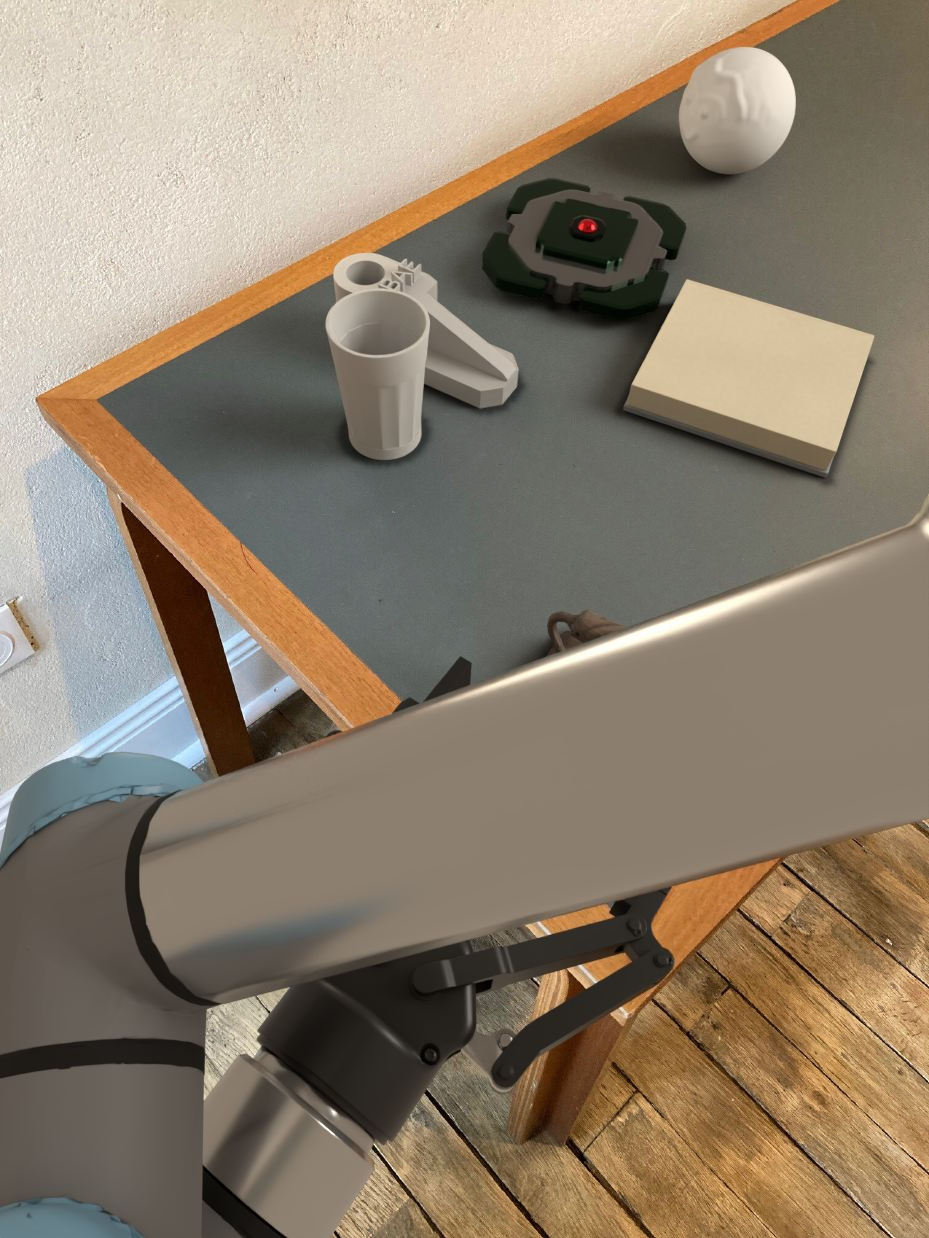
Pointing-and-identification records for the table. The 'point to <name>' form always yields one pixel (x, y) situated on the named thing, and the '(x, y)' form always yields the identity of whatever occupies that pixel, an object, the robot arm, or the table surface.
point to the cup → (380, 368)
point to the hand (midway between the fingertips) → (570, 735)
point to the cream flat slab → (752, 376)
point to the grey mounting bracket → (437, 332)
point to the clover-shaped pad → (585, 248)
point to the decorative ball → (737, 110)
